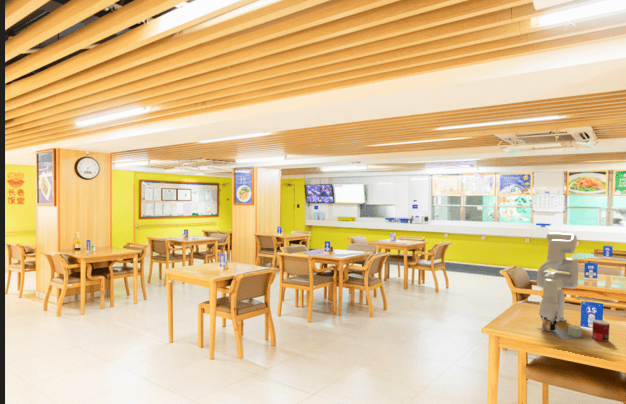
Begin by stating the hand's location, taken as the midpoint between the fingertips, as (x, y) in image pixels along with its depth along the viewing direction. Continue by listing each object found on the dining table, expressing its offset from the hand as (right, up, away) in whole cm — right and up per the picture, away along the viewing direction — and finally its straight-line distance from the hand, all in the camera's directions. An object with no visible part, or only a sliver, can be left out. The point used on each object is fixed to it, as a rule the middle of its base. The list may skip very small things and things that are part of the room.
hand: (548, 328), depth 250 cm
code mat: (+5, -2, -4) cm, 7 cm away
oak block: (0, -1, 0) cm, 1 cm away
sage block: (+11, -2, -7) cm, 13 cm away
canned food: (+22, -3, -13) cm, 26 cm away
